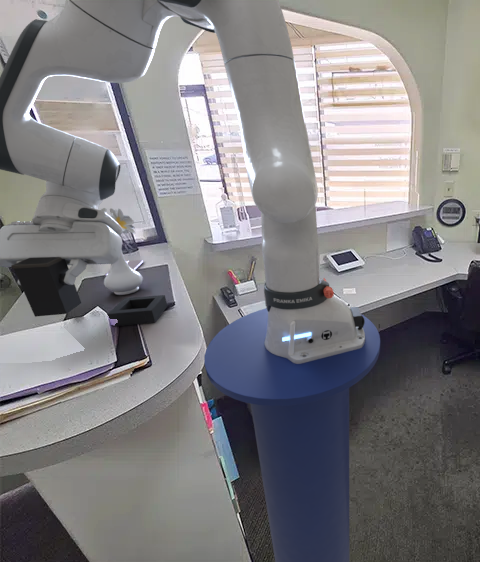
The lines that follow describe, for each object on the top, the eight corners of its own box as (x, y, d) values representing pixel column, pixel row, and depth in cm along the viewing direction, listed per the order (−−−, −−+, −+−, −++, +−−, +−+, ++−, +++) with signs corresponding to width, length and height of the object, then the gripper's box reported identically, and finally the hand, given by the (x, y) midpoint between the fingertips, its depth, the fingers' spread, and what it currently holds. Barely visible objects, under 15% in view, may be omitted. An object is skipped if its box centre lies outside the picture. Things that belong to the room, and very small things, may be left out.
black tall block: (82, 302, 62) (64, 255, 58) (67, 314, 58) (46, 263, 54) (51, 305, 61) (31, 256, 57) (33, 317, 56) (10, 265, 53)
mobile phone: (103, 274, 103) (119, 260, 116) (104, 277, 104) (120, 263, 116) (130, 272, 106) (143, 259, 119) (131, 275, 106) (144, 261, 119)
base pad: (167, 306, 86) (164, 294, 85) (155, 322, 78) (151, 310, 76) (128, 309, 84) (124, 297, 82) (111, 326, 75) (106, 314, 74)
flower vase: (150, 277, 105) (131, 202, 96) (151, 296, 91) (129, 211, 82) (101, 284, 98) (74, 204, 89) (94, 307, 84) (61, 215, 75)
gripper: (-12, 212, 57) (-42, 280, 52) (113, 211, 61) (96, 275, 56) (19, 230, 63) (-5, 293, 58) (131, 228, 66) (118, 288, 61)
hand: (46, 284), depth 57 cm, fingers closed on black tall block, 5 cm apart
